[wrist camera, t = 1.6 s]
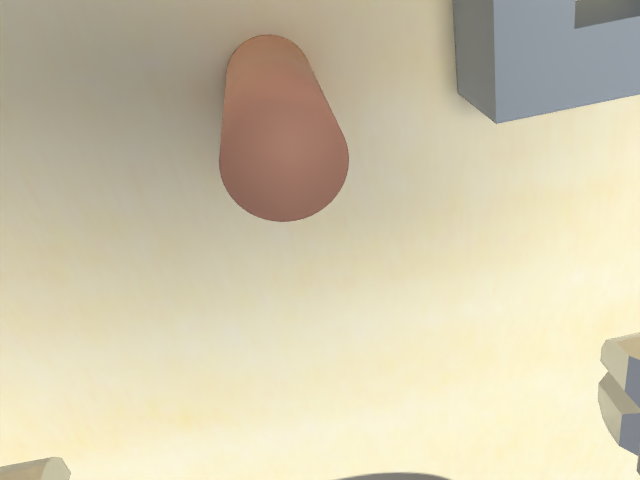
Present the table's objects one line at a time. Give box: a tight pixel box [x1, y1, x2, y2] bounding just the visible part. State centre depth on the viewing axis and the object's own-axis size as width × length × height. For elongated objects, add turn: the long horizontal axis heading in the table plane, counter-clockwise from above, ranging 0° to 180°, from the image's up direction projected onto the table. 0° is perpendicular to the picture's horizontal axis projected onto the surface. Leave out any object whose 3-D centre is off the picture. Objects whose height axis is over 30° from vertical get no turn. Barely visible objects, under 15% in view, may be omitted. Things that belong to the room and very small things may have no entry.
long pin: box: [219, 35, 349, 222], centre depth 23 cm, size 4×4×11 cm
